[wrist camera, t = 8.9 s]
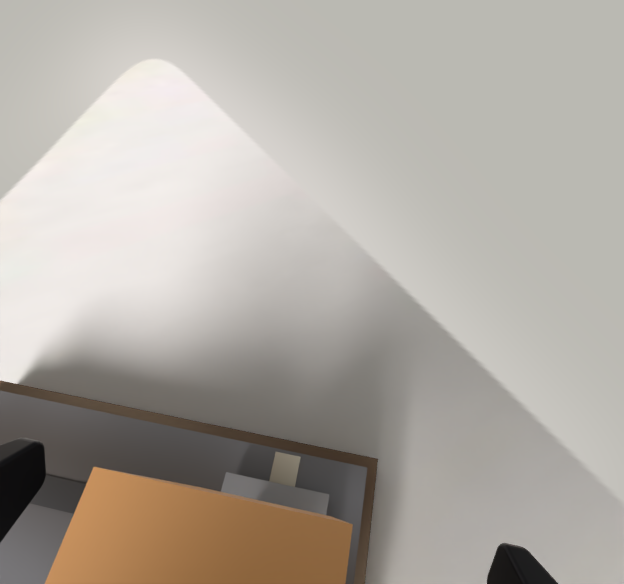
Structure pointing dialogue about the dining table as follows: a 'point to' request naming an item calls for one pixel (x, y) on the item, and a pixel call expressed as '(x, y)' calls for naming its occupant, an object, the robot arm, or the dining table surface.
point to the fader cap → (200, 534)
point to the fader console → (159, 468)
